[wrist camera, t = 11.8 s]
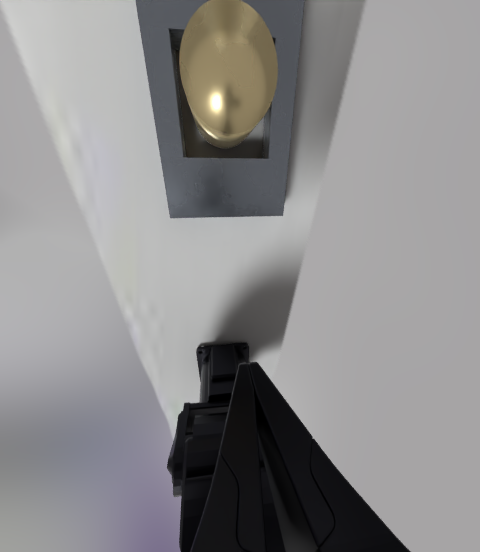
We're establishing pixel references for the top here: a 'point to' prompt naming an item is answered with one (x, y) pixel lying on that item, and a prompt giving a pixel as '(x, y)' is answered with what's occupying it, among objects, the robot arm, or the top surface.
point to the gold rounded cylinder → (227, 70)
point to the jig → (169, 125)
